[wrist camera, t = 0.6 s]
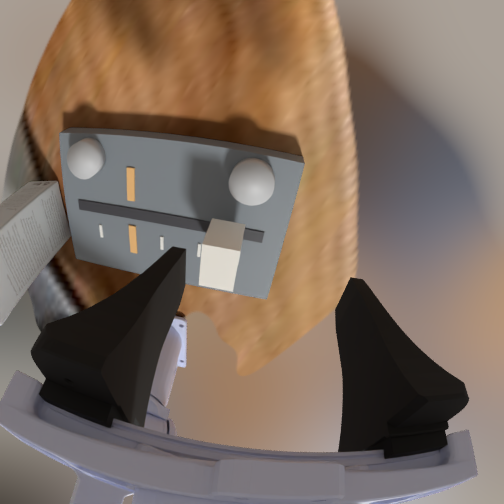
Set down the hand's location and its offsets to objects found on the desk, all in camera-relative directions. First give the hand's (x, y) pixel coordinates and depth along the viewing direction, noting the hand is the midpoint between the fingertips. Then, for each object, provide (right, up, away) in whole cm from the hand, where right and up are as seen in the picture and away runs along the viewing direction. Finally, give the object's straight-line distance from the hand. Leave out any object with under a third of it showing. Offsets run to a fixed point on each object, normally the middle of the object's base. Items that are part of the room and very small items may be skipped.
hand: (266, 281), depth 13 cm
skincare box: (-20, +5, +11) cm, 23 cm away
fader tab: (-2, +3, +8) cm, 9 cm away
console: (-7, +5, +10) cm, 13 cm away
